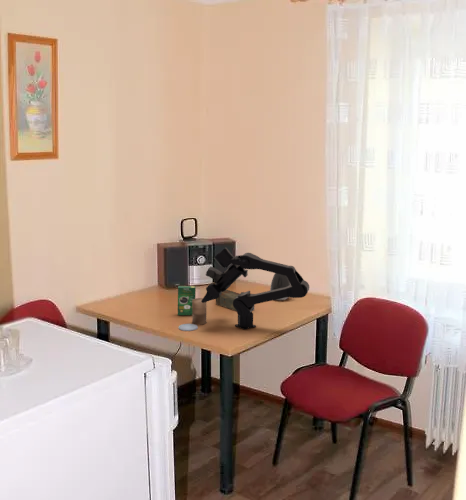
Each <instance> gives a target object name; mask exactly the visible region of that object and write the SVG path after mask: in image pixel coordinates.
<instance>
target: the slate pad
mask: <svg viewBox="0 0 466 500" xmlns="http://www.w3.org/2000/svg"><path fill="white" fill-rule="evenodd" d="M198 326H199V325H196V324H193V323H182V324H180V325H179V326H178V330H180V331H183V332H192V331H195V330H198V329H199V328H198Z"/></svg>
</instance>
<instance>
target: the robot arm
mask: <svg viewBox="0 0 466 500" xmlns="http://www.w3.org/2000/svg"><path fill="white" fill-rule="evenodd" d="M213 259H214V260H215V262H217V263H218V265H219V266H220V267H222V268H226V270H224V271H223V272H222V271H221V270H219V269H217V268H215V267H213V266H210V267H208V269H207V270H206V272H205V276H206V277H209V278H211V279H212V280H213V282H211V283H210V284H209V285H208V286H206V287H205V290H206V293H205V294H204V296H203V299H202V301H201V302H202V303H204V302H206V303H207V302H209V301H210V302H211V301H213V300H216V299H217V298H218V297H219V296H220V295H221V292H224V291H225V290H229V288H230V287H231V285H232V284H233V283H234V282H236V281H237V279H239V278H240V277H241V276H242V277H244V278H246V277H247V276H249V275H248V271H249V270H260V271H265V272H270V273H273V274H275V273H277V274H281V275H285V276H287V278H288V280H289V282H290V284H291V285H289V286H287V287H284V288H280V289H275V290H271V291H270V290H267V291H263V292H257V293H251V290H247V291H245V292H244V291H243V292H242V291H241V292H240V293H239V295H238V296H237V297H236V298H235V299H234V301H233V306H234V308H235V309H236V311H235V312H236V313H237V324H235V325H234V326H235V327H236V328H239V329H242V330H248V329H253V328H257V325H256V324H254V312H252V310H253V309H254V310H255V305H258V304H262V303H267V302H272V301H278V300H277V299H281V298H286V297H288V298H291V299H300V298H305V297H306V296H307V294H308V293H309V291H310V285H309V282H308V281H306V280H305V279H304V278H303V276H302V275H301V274H300V273H299V272H298V271H297V269H296V267H295V266H293V265H288V264H284V263H280V262H274V261H271V260H266V259H264V258H262V257H260V256H258V255H256V254H254V253H251V252H245V253H243V254H241V255H235V256H234V255H233V254H232V252H231V251H230V250H229V249H228V247H225V248H223V249H222V250H221V251H220V252H219V253H217V254H216V255H215V256H214V257H213ZM254 310H253V311H254Z"/></svg>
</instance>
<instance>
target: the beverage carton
mask: <svg viewBox="0 0 466 500" xmlns="http://www.w3.org/2000/svg"><path fill="white" fill-rule="evenodd" d="M239 294H240V293H239V292H237V291H233V290H229V289H227V290H225V291H224V292H221V295H220V296H219V297H218V298H217V299H215V305H217V306H219V307H223V308H226V309H229V310H232V311H235V312H237V311H236V309H235V308H234V306H233V301H234V299H235V298H236V297H237V296H238V295H239ZM254 310H255V308H254V309H253V310H252V311H254Z"/></svg>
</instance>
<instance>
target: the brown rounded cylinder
mask: <svg viewBox="0 0 466 500" xmlns="http://www.w3.org/2000/svg"><path fill="white" fill-rule="evenodd" d="M203 298H204V297H203ZM203 298H201V297H198V298H196V297H195V299H193V300H192V315H191V316H192V323H191V324H195V325H197V326H201V325H206V324H207V302H204V303H202V302H201V301H202V299H203Z"/></svg>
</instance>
